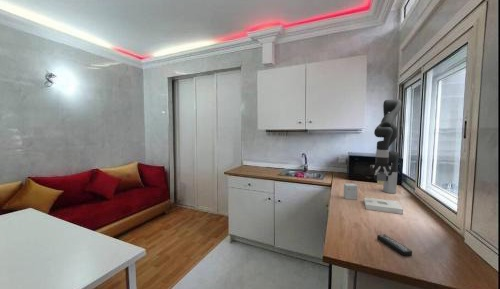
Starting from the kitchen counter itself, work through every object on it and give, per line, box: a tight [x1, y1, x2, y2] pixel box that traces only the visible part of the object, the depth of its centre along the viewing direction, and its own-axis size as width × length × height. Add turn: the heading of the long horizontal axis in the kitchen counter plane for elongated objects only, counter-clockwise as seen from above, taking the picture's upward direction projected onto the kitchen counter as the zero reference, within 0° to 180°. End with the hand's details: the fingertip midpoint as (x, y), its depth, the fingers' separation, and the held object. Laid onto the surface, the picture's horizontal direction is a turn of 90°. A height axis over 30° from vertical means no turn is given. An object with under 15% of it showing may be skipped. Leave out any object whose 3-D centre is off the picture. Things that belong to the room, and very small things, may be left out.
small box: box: [343, 183, 358, 200], centre depth 163 cm, size 8×6×10 cm
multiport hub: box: [376, 234, 413, 257], centre depth 97 cm, size 4×14×2 cm, turn 11°
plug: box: [376, 171, 386, 185], centre depth 150 cm, size 5×5×8 cm
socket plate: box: [363, 197, 404, 215], centre depth 144 cm, size 16×20×4 cm
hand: (380, 180), depth 150 cm, fingers closed on plug, 5 cm apart
